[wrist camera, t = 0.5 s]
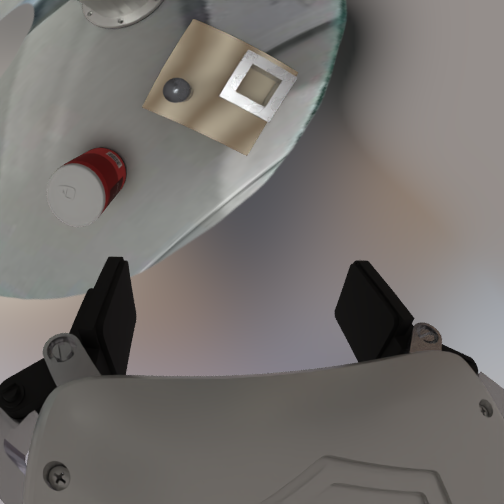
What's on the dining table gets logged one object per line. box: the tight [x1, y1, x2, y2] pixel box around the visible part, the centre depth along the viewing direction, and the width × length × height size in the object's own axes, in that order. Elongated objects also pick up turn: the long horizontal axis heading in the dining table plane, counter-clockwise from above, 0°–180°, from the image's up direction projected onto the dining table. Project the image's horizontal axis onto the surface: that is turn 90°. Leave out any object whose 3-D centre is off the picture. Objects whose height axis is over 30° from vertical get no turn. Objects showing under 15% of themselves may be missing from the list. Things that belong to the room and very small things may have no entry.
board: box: [142, 19, 298, 156], centre depth 33 cm, size 16×14×1 cm
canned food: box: [46, 148, 126, 227], centre depth 32 cm, size 8×8×11 cm
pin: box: [163, 78, 193, 103], centre depth 29 cm, size 3×3×8 cm
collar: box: [218, 49, 297, 122], centre depth 32 cm, size 7×7×4 cm
